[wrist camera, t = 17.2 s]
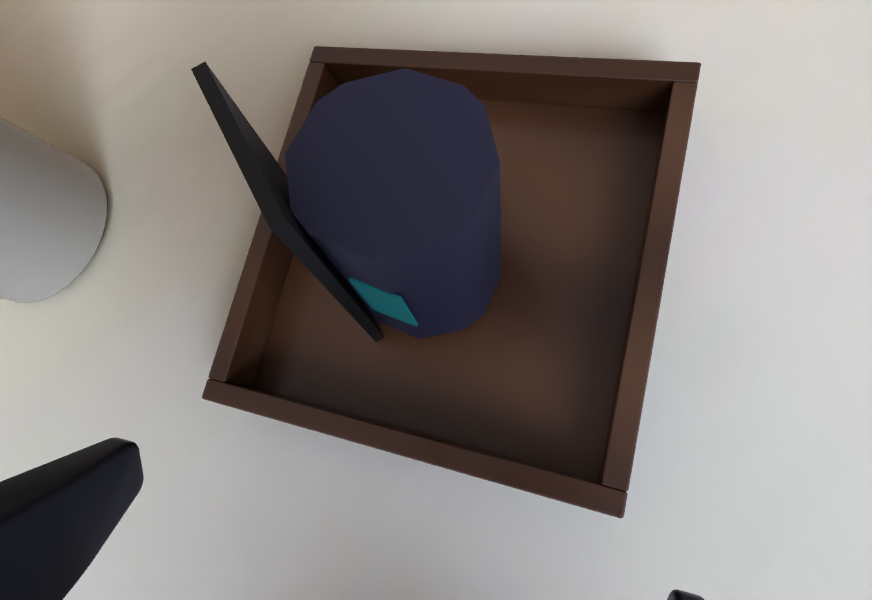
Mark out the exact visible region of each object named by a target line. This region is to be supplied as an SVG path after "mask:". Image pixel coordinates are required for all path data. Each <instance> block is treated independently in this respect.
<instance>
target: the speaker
mask: <svg viewBox="0 0 872 600" xmlns="http://www.w3.org/2000/svg"><path fill="white" fill-rule="evenodd" d="M191 70H192V72H193V74H194V76H195V78H196V80H197V82H198V84H199V86H200V88H201V90H202V92H203V94H204V96H205V98H206V100H207V102H208V104H209V106H210V108H211V110H212V112H213V114H214V116H215V118H216V120H217V122H218V124H219V126H220V129H221V131H222V133H223V135H224V137H225V139H226V141H227V143H228V145H229V147H230V149H231V151H232V153H233V155H234V157H235V159H236V161H237V163H238V165H239V167H240V169H241V171H242V173H243V175H244V177H245V179H246V181H247V183H248V185H249V187H250V189H251V191H252V193H253V195H254V197H255V199H256V201H257V203H258V205H259V207H260V209H261V211H262V213H263V216H264V218H265V220H266V222H267V224H268V226H269V228H270V229H271V230H272V231H273V232H274V233H275V234H276V235H277V236H278V237H279V238H280V240H281V241H282V242H283V243H284V244H285V245H286V246H287V247H288V248H289V249H290V250H291V251H292V252H293V254H294V255H295V256H296V257H297V258H298V259H299V260H300V261H301V262H302V263H303V264H304V265H305V266H306V268H307V269H308V270H309V271H310V272H311V273H312V274H313V275H314V276H315V277H316V278H317V279H318V280H319V282H320V283H321V284H322V285H323V286H324V287H325V288H326V289H327V290H328V291H329V292H330V293H331V294H332V296H333V297H334V298H335V299H336V300H337V301H338V302H339V303H340V304H341V305H342V306H343V307H344V308H345V310H346V311H347V312H348V313H349V314H350V315H351V316H352V317H353V318H354V319H355V320H356V321H357V322H358V324H359V325H360V326H361V327H362V328H363V329H364V330H365V331H366V332H367V333H368V334H369V335H370V336H371V338H372V339H373V340H374V341H375V342H377V341H379V340H381V339H383V338H384V335H383V333H382V331H381V330H380V328H379V326H378V324H377V322H376V320H375V318H376V319H377V320H378V321H379V322H381V323H383V324H385V325H388V326H390V327H392V328H395V329H397V330H399V331H401V332H404V333H406V334H408V335H411V336H413V337H415V338H417V339H423V338H427V337H432V336H436V335H441V334H446V333H450V332H455V331H460V330H464V329H466V328H467V327H468V326H470V325H471V324H472V323H474V322H475V321H476V320H477V319H479V318H480V317H481V316H482V315H483V314H484V312H485V310H486V308H487V306H488V304H489V301H490V299H491V297H492V295H493V293H494V290H495V288H496V286H497V284H498V282H499V280H500V277H501V275H502V258H501V195H500V160H499V157H498V153H497V149H496V145H495V142H494V138H493V134H492V130H491V127H490V123H489V119H488V115H487V112H486V108H485V105H484V104H483V103H481V102H480V101H479V100H478V99H477V98H476V97H475V96H474V95H473V94H472V93H471V92H470V91H469V90H468V89H467V88H466V87H465V86H463V85H460V84H457V83H453V82H450V81H447V80H443V79H440V78H437V77H433V76H430V75H426V74H423V73H420V72H416V71H413V70H410V69H406V68H404V69H400V70H396V71H392V72H388V73H384V74H379V75H375V76H371V77H367V78H363V79H359V80H355V81H351V82H347V83H343V84H342V85H340V86H339V87H337V88H336V89H334V90H333V91H332V92H330V93H329V94H327V95H326V96H324V97H323V98H322V99H320V100H319V101H317V102H316V104H315V106H314V107H313V109H312V111H311V112H310V114H309V115H308V117H307V119H306V120H305V122H304V123H303V125H302V127H301V128H300V130H299V132H298V133H297V135H296V136H295V138H294V140H293V141H292V143H291V145H290V146H289V148H288V149H287V151H286V153H285V158H286V168H287V175H286V174H285V172H284V171H283V170H282V168H281V167H280V165H279V164H278V163H277V161H276V160H275V158H274V157H273V156H272V154H271V153H270V151H269V150H268V149H267V147H266V146H265V144H264V143H263V142H262V140H261V139H260V137H259V136H258V135H257V133H256V132H255V131H254V129H253V128H252V126H251V125H250V124H249V122H248V121H247V119H246V118H245V117H244V115H243V114H242V112H241V111H240V110H239V108H238V107H237V105H236V104H235V103H234V101H233V100H232V98H231V97H230V96H229V94H228V93H227V91H226V90H225V89H224V87H223V86H222V84H221V83H220V82H219V80H218V79H217V77H216V76H215V75H214V73H213V72H212V70H211V69H210V68H209V66H208V65H207V63H206V62H203V63H202V64H200V65H198V66H196V67H194V68H192V69H191ZM372 314H373V315H374V316H375V318H374V317H373V315H372Z"/></svg>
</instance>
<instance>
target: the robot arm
mask: <svg viewBox="0 0 872 600" xmlns="http://www.w3.org/2000/svg"><path fill="white" fill-rule="evenodd" d="M143 478H144V477H143V470H142V464H141V458H140V453H139V448H138V446H137V445H136V443H134V442H131V441H128V440H124V439H120V438H110V439H107V440H104V441H102V442H99V443H97V444H94V445H92V446H89V447H87V448H84V449H82V450H79V451H77V452H74V453H72V454H69V455H67V456H64V457H62V458H59V459H57V460H54V461H52V462H49V463H47V464H44V465H41V466H39V467H36V468H34V469H31V470H29V471H26V472H24V473H21V474H19V475H16V476H14V477H11V478H9V479H6V480H4V481H1V482H0V600H63V598H64V597H65V596H66V595H67V594H68V592H69V591H70V590H71V589H72V587H73V586H74V585H75V584H76V582H77V581H78V580H79V578H80V577H81V576H82V575H83V573H84V572H85V571H86V569H87V568H88V566H89V565H90V564H91V562H92V561H93V559H94V558H95V556H96V555H97V554H98V552H99V551H100V549H101V548H102V546H103V545H104V543H105V542H106V540H107V539H108V537H109V536H110V534H111V533H112V531H113V530H114V528H115V527H116V525H117V524H118V522H119V521H120V519H121V518H122V516H123V515H124V513H125V512H126V511H127V509H128V508H129V506H130V505H131V503H132V502H133V500H134V499H135V497H136V496H137V494H138V493H139V491H140V489H141V487H142V484H143ZM667 600H704V599H703V598H702V597H701V596H698V595H695V594H692V593H688V592H684V591H681V590H673V591H672V592H671V593H670V594H669V596H668V599H667Z"/></svg>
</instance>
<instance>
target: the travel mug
mask: <svg viewBox="0 0 872 600" xmlns="http://www.w3.org/2000/svg"><path fill="white" fill-rule="evenodd" d="M106 216H107V199H106V193H105V190H104V186H103V184H102V181H101V180H100V178H99V176H98V175H97V173H96V172H95V171H94V170H93V169H92V168H91V167H89V166H88V165H87V164H85V163H83V162H81V161H80V160H78V159H76V158H74V157H72V156H71V155H69V154H67V153H65V152H63V151H62V150H60V149H58V148H56V147H54V146H53V145H51V144H49V143H47V142H45V141H44V140H42V139H40V138H38V137H36V136H35V135H33V134H31V133H29V132H27V131H26V130H24V129H22V128H20V127H18V126H17V125H15V124H13V123H11V122H9V121H8V120H6V119H4V118H2V117H0V298H3V299H7V300H11V301H15V302H22V303H27V302H36V301H39V300H43V299H46V298H48V297H50V296H52V295H54V294H56V293H58V292H59V291H61V290H62V289H64V288H65V287H67V286H68V285H69V284H70V283H71V282H72V281H74V280H75V279H76V278H77V276H78V275H79V274H80V273H81V272H82V271H83V270H84V268H85V267H86V266H87V264H88V263H89V261H90V260H91V258H92V257H93V255H94V253H95V251H96V249H97V247H98V245H99V243H100V240H101V237H102V235H103V231H104V227H105V223H106Z"/></svg>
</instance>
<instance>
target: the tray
mask: <svg viewBox="0 0 872 600" xmlns="http://www.w3.org/2000/svg"><path fill="white" fill-rule="evenodd" d="M700 67H701V64H700V63H696V62H673V61H649V60H626V59H603V58H579V57H556V56H532V55H509V54H485V53H462V52H439V51H415V50H392V49H368V48H345V47H321V46H315V47H314V49H313V52H312V55H311V58H310V63H309V65H308V68H307V71H306V75H305V78H304V81H303V84H302V87H301V90H300V93H299V96H298V99H297V103H296V106H295V109H294V112H293V115H292V118H291V121H290V124H289V128H288V131H287V134H286V137H285V140H284V143H283V146H282V149H281V152H280V156H279V159H278V162H277V163H278V164H279V165H280V167H281V168H282V170H283V171H284V172H285V174H286V175H287V168H286V158H285V153H286V151H287V149H288V148H289V146H290V145H291V143H292V141H293V140H294V138H295V136H296V135H297V133H298V132H299V130H300V128H301V127H302V125H303V123H304V122H305V120H306V119H307V117H308V115H309V114H310V112H311V111H312V109H313V107H314V106H315V104H316V102H317V101H319V100H320V99H322V98H323V97H324V96H326V95H327V94H329V93H330V92H332V91H333V90H334V89H336V88H337V87H339V86H340V85H342V84H343V83H347V82H351V81H355V80H359V79H363V78H367V77H371V76H375V75H379V74H384V73H388V72H392V71H396V70H400V69H404V68H406V69H410V70H413V71H416V72H420V73H423V74H426V75H430V76H433V77H437V78H440V79H443V80H447V81H450V82H453V83H457V84H460V85H463V86H465V87H466V88H467V89H468V90H469V91H470V92H471V93H472V94H473V95H474V96H475V97H476V98H477V99H478V100H479V101H480V102H481V103H483V104H484V105H485V108H486V112H487V115H488V119H489V123H490V127H491V130H492V134H493V138H494V142H495V145H496V149H497V153H498V157H499V160H500V195H501V258H502V275H501V277H500V280H499V282H498V284H497V286H496V288H495V290H494V293H493V295H492V297H491V299H490V301H489V304H488V306H487V308H486V310H485V312H484V314H483V315H482V316H481V317H480V318H479V319H477V320H476V321H475V322H474V323H472V324H471V325H470V326H468V327H467V328H466V329H464V330H460V331H455V332H450V333H446V334H441V335H436V336H432V337H427V338H423V339H417V338H415V337H413V336H411V335H408V334H406V333H404V332H401V331H399V330H397V329H395V328H392V327H390V326H388V325H385V324H383V323H381V322H379V321H378V320H377V319H376V318H375V316H374V315H373V314H372V315H373V317H374V318H375V320H376V322H377V324H378V326H379V328H380V330H381V331H382V333H383V335H384V338H383V339H381V340H379V341H377V342H375V341H374V340H373V339H372V338H371V336H370V335H369V334H368V333H367V332H366V331H365V330H364V329H363V328H362V327H361V326H360V325H359V324H358V322H357V321H356V320H355V319H354V318H353V317H352V316H351V315H350V314H349V313H348V312H347V311H346V310H345V308H344V307H343V306H342V305H341V304H340V303H339V302H338V301H337V300H336V299H335V298H334V297H333V296H332V294H331V293H330V292H329V291H328V290H327V289H326V288H325V287H324V286H323V285H322V284H321V283H320V282H319V280H318V279H317V278H316V277H315V276H314V275H313V274H312V273H311V272H310V271H309V270H308V269H307V268H306V266H305V265H304V264H303V263H302V262H301V261H300V260H299V259H298V258H297V257H296V256H295V255H294V254H293V252H292V251H291V250H290V249H289V248H288V247H287V246H286V245H285V244H284V243H283V242H282V241H281V240H280V238H279V237H278V236H277V235H276V234H275V233H274V232H273V231H272V230H271V229H270V228H269V226H268V224H267V222H266V220H265V218H264V216H263V213H262V212H261V215H260V218H259V221H258V224H257V227H256V230H255V233H254V237H253V240H252V243H251V246H250V249H249V252H248V255H247V258H246V262H245V265H244V268H243V271H242V274H241V277H240V280H239V283H238V286H237V290H236V293H235V296H234V299H233V302H232V305H231V308H230V311H229V315H228V318H227V321H226V324H225V327H224V330H223V333H222V336H221V339H220V343H219V346H218V349H217V352H216V355H215V358H214V361H213V364H212V368H211V371H210V374H209V378H210V379H208V380H207V383H206V386H205V389H204V392H203V395H202V398H203V399H205V400H209V401H212V402H216V403H219V404H222V405H226V406H229V407H233V408H236V409H240V410H243V411H247V412H250V413H254V414H257V415H261V416H264V417H268V418H271V419H275V420H278V421H282V422H285V423H289V424H292V425H296V426H299V427H303V428H306V429H310V430H313V431H317V432H320V433H324V434H327V435H331V436H334V437H338V438H341V439H345V440H348V441H352V442H355V443H359V444H362V445H366V446H369V447H373V448H376V449H380V450H383V451H387V452H390V453H394V454H397V455H401V456H404V457H408V458H411V459H415V460H418V461H422V462H425V463H429V464H432V465H436V466H439V467H443V468H446V469H450V470H453V471H457V472H460V473H464V474H467V475H471V476H474V477H478V478H481V479H485V480H488V481H492V482H495V483H499V484H502V485H506V486H509V487H513V488H516V489H520V490H523V491H527V492H530V493H534V494H537V495H541V496H544V497H548V498H551V499H555V500H558V501H562V502H565V503H569V504H572V505H576V506H579V507H583V508H586V509H590V510H593V511H597V512H600V513H604V514H607V515H611V516H614V517H618V518H623V517H624V512H625V506H626V500H627V492H626V491H628V489H629V483H630V477H631V471H632V465H633V459H634V453H635V448H636V442H637V436H638V430H639V424H640V418H641V412H642V407H643V401H644V395H645V389H646V383H647V377H648V371H649V366H650V360H651V354H652V348H653V342H654V336H655V330H656V325H657V319H658V313H659V307H660V301H661V295H662V289H663V284H664V278H665V272H666V266H667V260H668V254H669V248H670V243H671V237H672V231H673V225H674V219H675V213H676V207H677V202H678V196H679V190H680V184H681V178H682V172H683V166H684V161H685V155H686V149H687V143H688V137H689V131H690V125H691V120H692V114H693V108H694V102H695V96H696V90H697V83H698V79H699V73H700Z"/></svg>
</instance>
